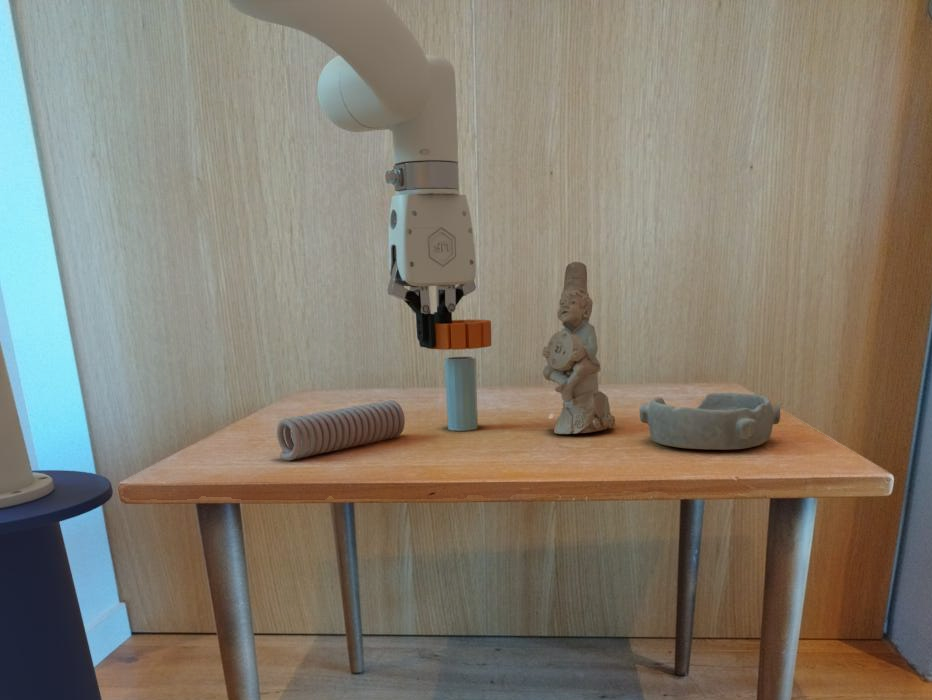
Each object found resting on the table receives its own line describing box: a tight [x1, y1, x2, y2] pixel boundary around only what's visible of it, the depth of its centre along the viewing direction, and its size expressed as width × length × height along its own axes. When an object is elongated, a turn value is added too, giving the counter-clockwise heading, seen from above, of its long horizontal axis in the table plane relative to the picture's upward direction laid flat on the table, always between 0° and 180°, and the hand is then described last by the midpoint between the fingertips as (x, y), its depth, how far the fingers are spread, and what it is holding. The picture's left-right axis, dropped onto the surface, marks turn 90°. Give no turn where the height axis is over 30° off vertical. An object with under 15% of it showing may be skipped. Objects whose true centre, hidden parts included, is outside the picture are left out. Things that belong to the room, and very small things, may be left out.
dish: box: [639, 392, 781, 451], centre depth 99 cm, size 14×14×5 cm
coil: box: [276, 399, 406, 461], centre depth 102 cm, size 5×5×18 cm
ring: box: [427, 318, 492, 351], centre depth 109 cm, size 8×8×3 cm
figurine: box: [541, 261, 617, 435], centre depth 105 cm, size 9×8×20 cm
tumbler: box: [444, 355, 479, 432], centre depth 112 cm, size 4×4×9 cm
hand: (435, 345), depth 107 cm, fingers closed on ring, 1 cm apart
